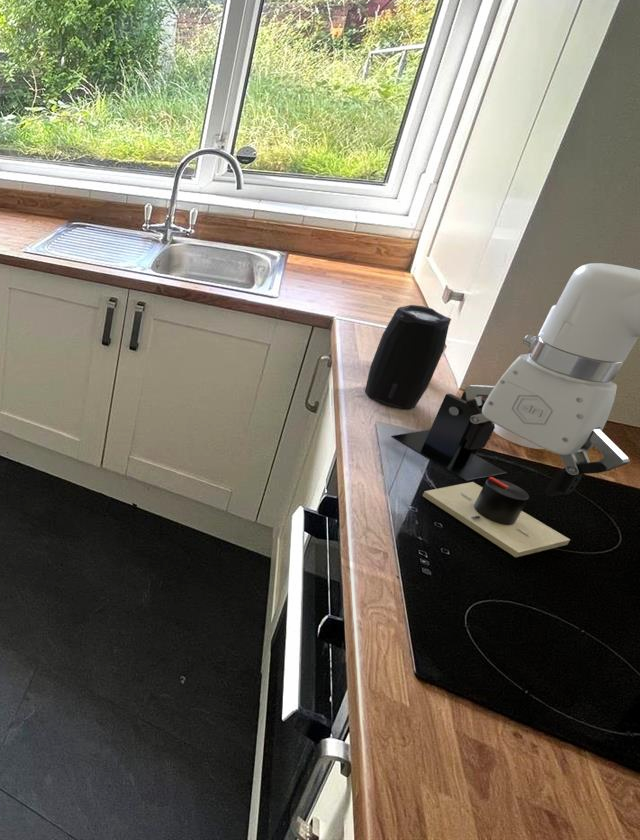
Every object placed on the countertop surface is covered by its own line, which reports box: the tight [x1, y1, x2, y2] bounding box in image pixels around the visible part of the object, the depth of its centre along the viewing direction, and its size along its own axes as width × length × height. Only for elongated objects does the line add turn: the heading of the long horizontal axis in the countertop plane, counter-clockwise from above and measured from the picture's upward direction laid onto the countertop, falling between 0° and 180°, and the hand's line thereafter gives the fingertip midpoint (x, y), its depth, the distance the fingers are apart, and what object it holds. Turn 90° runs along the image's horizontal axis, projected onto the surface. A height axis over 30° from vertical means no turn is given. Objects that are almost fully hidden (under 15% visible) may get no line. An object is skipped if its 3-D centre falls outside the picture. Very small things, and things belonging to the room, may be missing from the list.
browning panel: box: [422, 481, 571, 558], centre depth 83 cm, size 12×10×2 cm
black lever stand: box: [390, 391, 508, 482], centre depth 95 cm, size 12×9×12 cm
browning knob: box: [474, 476, 530, 525], centre depth 82 cm, size 4×4×5 cm
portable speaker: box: [364, 304, 452, 411], centre depth 110 cm, size 9×9×20 cm
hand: (512, 469), depth 80 cm, fingers open, 9 cm apart
